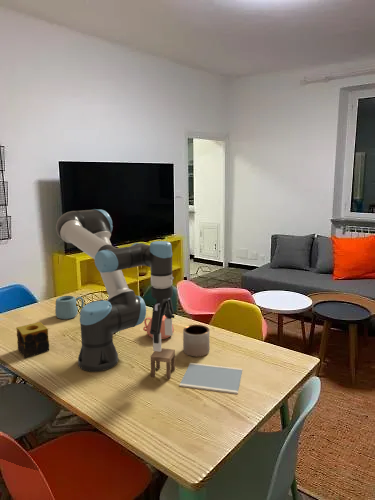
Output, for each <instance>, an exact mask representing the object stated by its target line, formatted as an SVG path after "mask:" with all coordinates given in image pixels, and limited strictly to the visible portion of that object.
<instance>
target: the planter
mask: <svg viewBox="0 0 375 500" xmlns="http://www.w3.org/2000/svg"><path fill="white" fill-rule="evenodd" d="M182 332H183V333H182V340H183V342H182V343H183V344H182V346H183V347H182V351H183V353H184V354H185V355H187V356H190V357H198V358H199V357H200V358H201V357H203V356H206V355H208V354H209V353H210V344H211V343H210V328H209V327H208V326H206V325H203V324H190V325H187V326H185V327H184V328H183V331H182Z"/></svg>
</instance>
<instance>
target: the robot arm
mask: <svg viewBox="0 0 375 500" xmlns="http://www.w3.org/2000/svg"><path fill="white" fill-rule="evenodd" d="M113 227H114V226H113V220H112V217H111V215H110V214H109V213H108V212H107V211H106V210H104V209H96V208H93V209H85V210H83V209H82V210H71V211H67V212H65V213H62V214H61V216H60V217H58V219H57V221H56V225H55V230H56V234H57V236H58V237H59V238H60V239H61V240H62V241H63V242H65V243H67V244H72V245H73V246H75V247H77V249H79V250H81V251H82V252H83V253H85V254H86V255H87V256H89V257H90V258H92V259H93V260H94V265H95V267H96V269H97V271H98V272H99V273H100V277H101V279H102V281H103V284H104V286H105V290H106V292H107V295H108V297H107V300H104V299H103V300H94V301H91V302H89V303H87V304H85V305H83V307H82V309H80V312H79V323H80V337H81V347H80V351H79V354H78V357H77V363H78V368H79V369H81V370H83V371H86V372H90V373H91V372H94V373H95V372H102V371H106V370H109V369H111V368H114V367H115V366H116V365H117V364H118V362H119V354H118V352H117V349H116V346H115V344H114V340H113V338H114V337H113V336H114V335H113V334H115V333H118V332H121V331H124V330H127V329H130V328H135V327H137V326H139V325H141V324H142V323H144V320H145V319H146V318H147V316H146V315H147V306H146V303H145V300H144V299H143V298H142V296H140V295H136V294H135V291H134V290H133V289H130V288H129V286H128V284H127V281H126V277H125V276H124V272H123V271H122V270H126V269H132V268H137V267H141V266H145V267H149V268H150V285H151V287H150V290H151V291H150V292H151V293H150V294H151V295H150V296H151V297H152V298H153V299H155V300H156V302H155V304H152V314H151V315H152V316H151V318H152V322H151V330H150V334H153V338H152V348H153V350H152V351H153V352H154V351H159V352H161V348H162V339H161V333H160V329H161V324H162V319H163V316H164V315H165V317H166V318H165V335H169V336H170V337H171V336H173V334H172V324H173V319H175V315H174V314H175V311H174V307H173V302H172V297H173V296H174V294H173V293H174V289H173V288H174V287H173V280H174V278H175V277H174V276H173V250H172V249H173V248H172V247H173V246H172V243H171V242H169V241H166V240H165V241H163V240H158V241H152V242H150V244H145V243H141V242H140V243H138V242H135V243H133V244H131V245H130V246H124V247H123V246H122V247H115V246H113V245H112V243H111V240H110V239H111V236H112V232H113Z"/></svg>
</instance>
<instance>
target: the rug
mask: <svg viewBox="0 0 375 500" xmlns="http://www.w3.org/2000/svg"><path fill="white" fill-rule="evenodd" d="M242 374H243V368H238V367H231V366H230V367H229V366H221V365H213V364H206V363H205V364H204V363H197V362H195V363H194V362H189V364H188V367H187V369H186V370H185V372H184V375H183V377H182V379H181V380H180V383H179V385H178V386H179V387H182V388H183V387H185V388H190V389H199V390H205V391H214V392H220V393H228V394H235V395H236V394H237V395H238V394H239V389H240V384H241V379H242Z"/></svg>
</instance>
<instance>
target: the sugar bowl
mask: <svg viewBox="0 0 375 500" xmlns="http://www.w3.org/2000/svg"><path fill="white" fill-rule="evenodd" d="M165 318H166V317H165V315H164V316H163V319H162V324H161V329H160V333H161V340H166V339H168V338H170V337H171V336H169V335H165ZM147 320H149V321H148V324H147ZM151 322H152V317H145V319H144V321H143V324H144V327H143V329H142V330H143V331H144V332H146V333H147V335H148V336H149V338H151V339H153V334H150V330H151ZM174 332H175V328H174V324H173V323H172V335H174V334H173V333H174Z"/></svg>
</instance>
